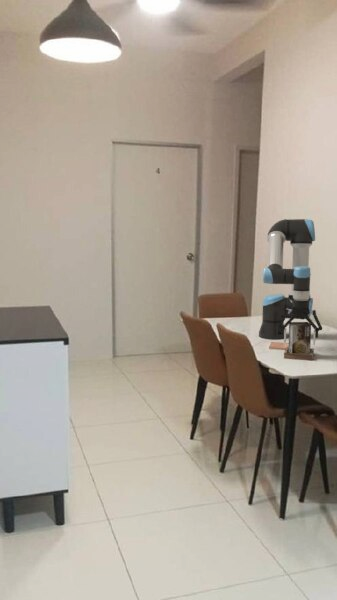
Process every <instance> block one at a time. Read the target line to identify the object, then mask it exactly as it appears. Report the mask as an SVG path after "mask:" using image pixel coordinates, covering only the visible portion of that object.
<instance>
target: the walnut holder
mask: <svg viewBox="0 0 337 600" xmlns="http://www.w3.org/2000/svg"><path fill="white" fill-rule="evenodd" d="M288 351H289V347H286V349H285V350H284V352H283V359H288V360H289V359H290V360H301V361H302V360H304V361H313V360H314V353H315V349H314V348H311V347H310V354H296V353H288Z"/></svg>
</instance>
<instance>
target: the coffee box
mask: <svg viewBox="0 0 337 600" xmlns="http://www.w3.org/2000/svg"><path fill="white" fill-rule="evenodd" d="M311 337H312V326H311V324H310V323H309V322H308V321H291V322H290V323H289V324H288V343H289V351H288V353H296V354H310V348H311V345H312V344H311V342H312V341H311V340H312V339H311ZM310 355H311V354H310Z"/></svg>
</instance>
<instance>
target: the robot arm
mask: <svg viewBox="0 0 337 600" xmlns="http://www.w3.org/2000/svg"><path fill="white" fill-rule="evenodd" d="M315 231H316V230H315V223H314V221H313V220H312V219H306V218H303V219H302V218H301V219H299V218H296V219H295V218H294V219H292V218H291V219H289V218H288V219H287V218H286V219H281V220H279V221H276V222H275V223H274V224H273V225H272V226H271V227H270V228H269V230H268V233H267V242H268V255H267V257H268V258H267V268H264V269H263V272H262V282H263V284H268V285H269V284H270V285H291V291H290V292H289V293H288V297H287V296H285V294H281V293H280V294H279V293H278V294H277V293H276V294H269V295H266V296H264V297H263V299H262V316H261V317H262V319H261V320H262V322H261V326H260V328H259V331H258V336H259V337H260V338H261V339H266V340H267V339H268V340H283V343H287V327H289V323H290V322H293V321H294V320H306V322H308V323H310V324H311V328H313V329H314V330H313V344H312V345H313V346H316V339H317V338H319V332H320V331H322V330H323V326H322V324H321V322H320V321H319V318H318V316H317V310H316V309H313V302H314V298H313V297H311V293H310V292H311V276H312V275H311V268H310V266H309V261H310V248H311V246H312V245H313V242H315V241H316V232H315ZM286 242H290V243H289V245H290V246H291V247H292V266H291V267H292V268H283V267H284V243H286ZM312 309H313V310H312ZM311 316H313V318H314V320H315V323H316V324H317V325H316V324H315V323H314V322H313V320H312V319H311V318H310V317H311ZM286 319H288V320H287V321H286V322H285V323H284V321H285V320H286Z"/></svg>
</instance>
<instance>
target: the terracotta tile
mask: <svg viewBox="0 0 337 600" xmlns="http://www.w3.org/2000/svg"><path fill="white" fill-rule="evenodd" d="M286 347H289V342H286V343H284V342H278V341H277V342H276V341H271V342H270V344H269V345H268V349H269V350H280V351H285V349H286Z"/></svg>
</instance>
